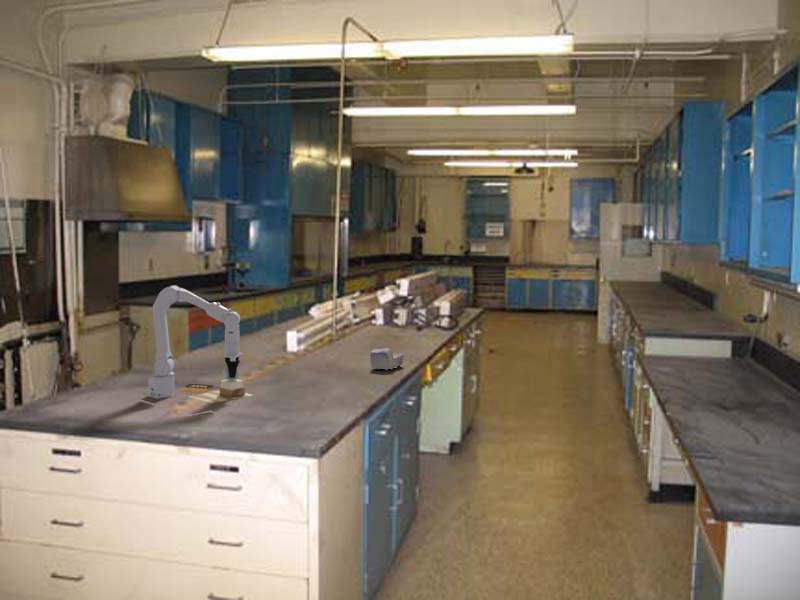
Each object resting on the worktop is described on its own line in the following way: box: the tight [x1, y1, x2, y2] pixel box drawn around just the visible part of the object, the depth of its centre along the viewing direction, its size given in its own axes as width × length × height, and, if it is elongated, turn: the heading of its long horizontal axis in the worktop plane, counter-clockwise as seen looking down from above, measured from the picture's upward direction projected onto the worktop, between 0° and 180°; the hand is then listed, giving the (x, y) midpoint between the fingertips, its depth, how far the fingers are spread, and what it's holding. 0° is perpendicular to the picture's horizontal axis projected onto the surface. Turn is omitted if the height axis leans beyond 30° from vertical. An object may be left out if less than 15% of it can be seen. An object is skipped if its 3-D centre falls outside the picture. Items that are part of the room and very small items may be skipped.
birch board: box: [188, 390, 253, 404], centre depth 301 cm, size 20×16×1 cm
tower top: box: [220, 378, 244, 390], centre depth 301 cm, size 6×6×3 cm
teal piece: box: [225, 366, 239, 380], centre depth 301 cm, size 4×4×4 cm
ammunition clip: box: [177, 383, 214, 395], centre depth 310 cm, size 11×2×12 cm
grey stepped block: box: [369, 347, 405, 371], centre depth 371 cm, size 13×11×20 cm
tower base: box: [218, 387, 246, 398], centre depth 302 cm, size 7×7×3 cm
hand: (232, 376), depth 301 cm, fingers closed on teal piece, 4 cm apart
